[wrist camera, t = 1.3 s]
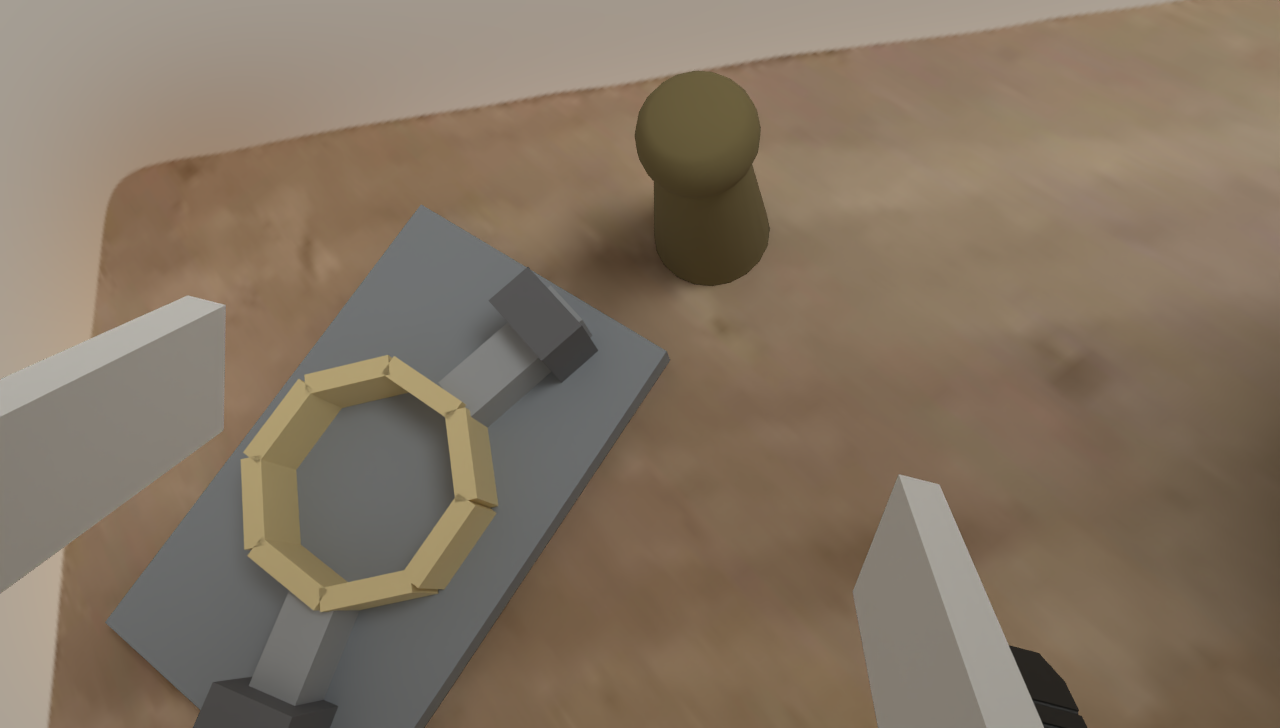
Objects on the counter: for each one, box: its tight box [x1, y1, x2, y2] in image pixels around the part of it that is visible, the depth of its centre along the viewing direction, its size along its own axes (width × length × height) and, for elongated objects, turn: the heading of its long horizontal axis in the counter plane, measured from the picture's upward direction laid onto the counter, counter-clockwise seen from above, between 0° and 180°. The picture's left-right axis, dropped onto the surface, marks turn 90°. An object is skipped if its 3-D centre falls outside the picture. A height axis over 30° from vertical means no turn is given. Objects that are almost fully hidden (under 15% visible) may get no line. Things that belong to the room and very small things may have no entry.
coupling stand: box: [105, 205, 670, 728], centre depth 39 cm, size 26×16×5 cm, turn 146°
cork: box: [635, 71, 770, 286], centre depth 37 cm, size 6×6×11 cm
